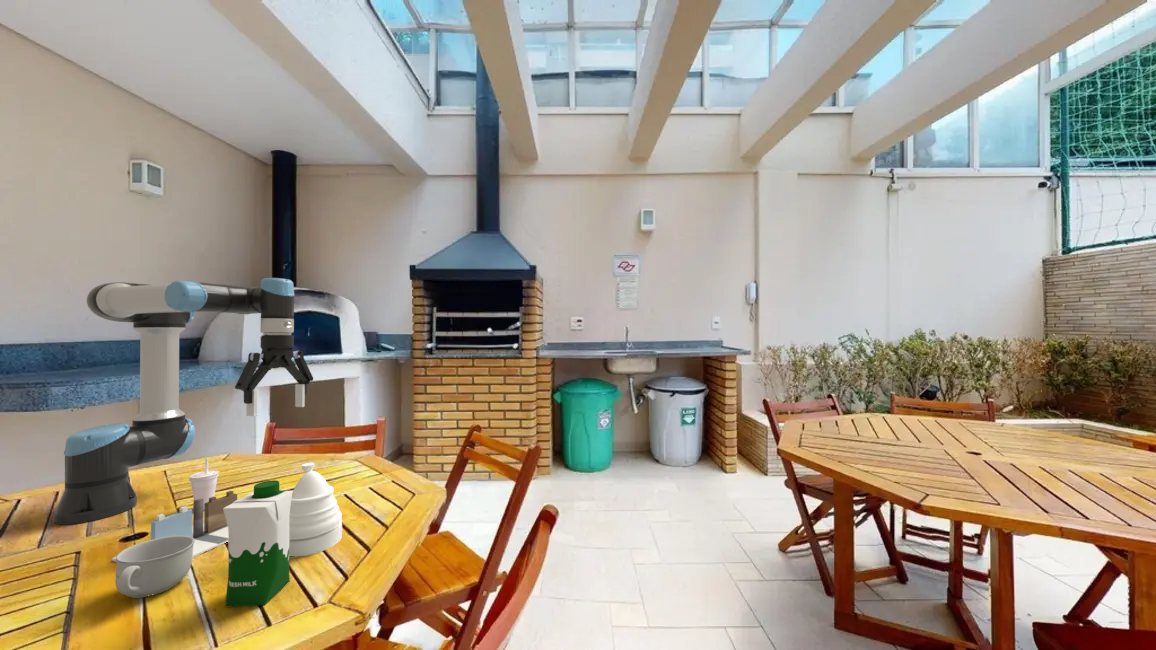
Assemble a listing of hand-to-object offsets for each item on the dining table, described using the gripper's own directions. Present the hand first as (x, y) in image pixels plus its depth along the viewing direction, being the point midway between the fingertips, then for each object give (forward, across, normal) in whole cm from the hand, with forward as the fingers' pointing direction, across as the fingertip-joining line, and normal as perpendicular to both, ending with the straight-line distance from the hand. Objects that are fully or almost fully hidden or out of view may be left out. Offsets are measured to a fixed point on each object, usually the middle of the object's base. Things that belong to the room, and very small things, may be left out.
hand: (277, 411), depth 116 cm
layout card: (+28, -18, +3) cm, 33 cm away
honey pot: (+28, -10, -24) cm, 38 cm away
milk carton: (+28, -28, -32) cm, 51 cm away
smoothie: (+28, -3, +23) cm, 37 cm away
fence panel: (+27, -21, +4) cm, 35 cm away
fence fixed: (+27, -13, +4) cm, 30 cm away
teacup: (+28, -34, -11) cm, 45 cm away
